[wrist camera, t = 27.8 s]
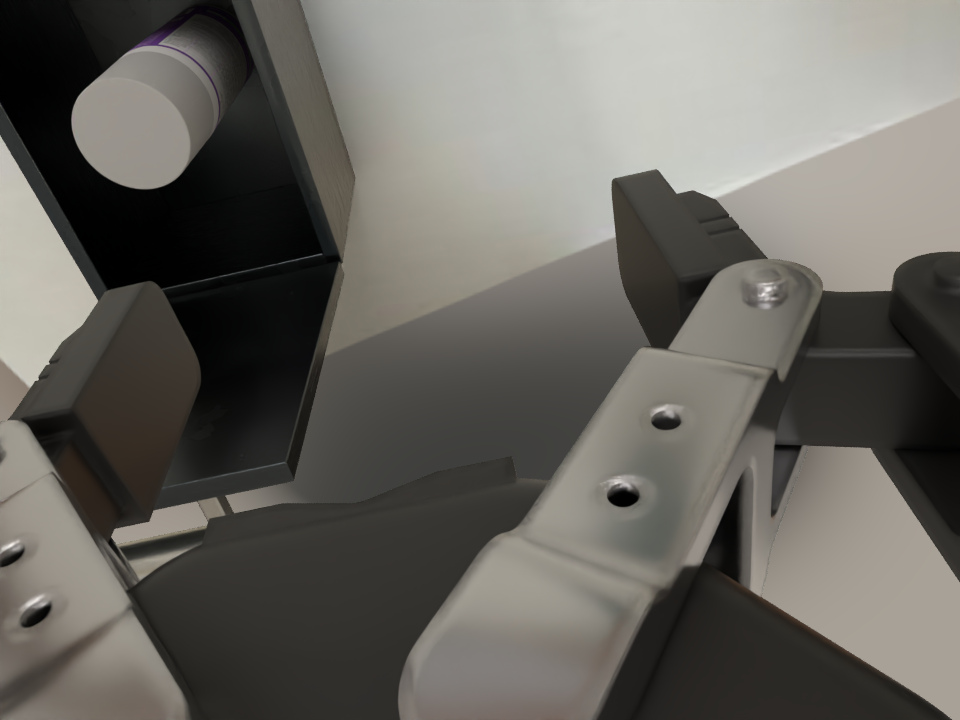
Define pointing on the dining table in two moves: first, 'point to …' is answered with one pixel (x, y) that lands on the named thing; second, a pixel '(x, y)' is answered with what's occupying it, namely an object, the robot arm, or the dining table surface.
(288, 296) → the bin lid
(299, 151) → the bin
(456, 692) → the robot arm
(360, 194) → the dining table surface
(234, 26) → the container
